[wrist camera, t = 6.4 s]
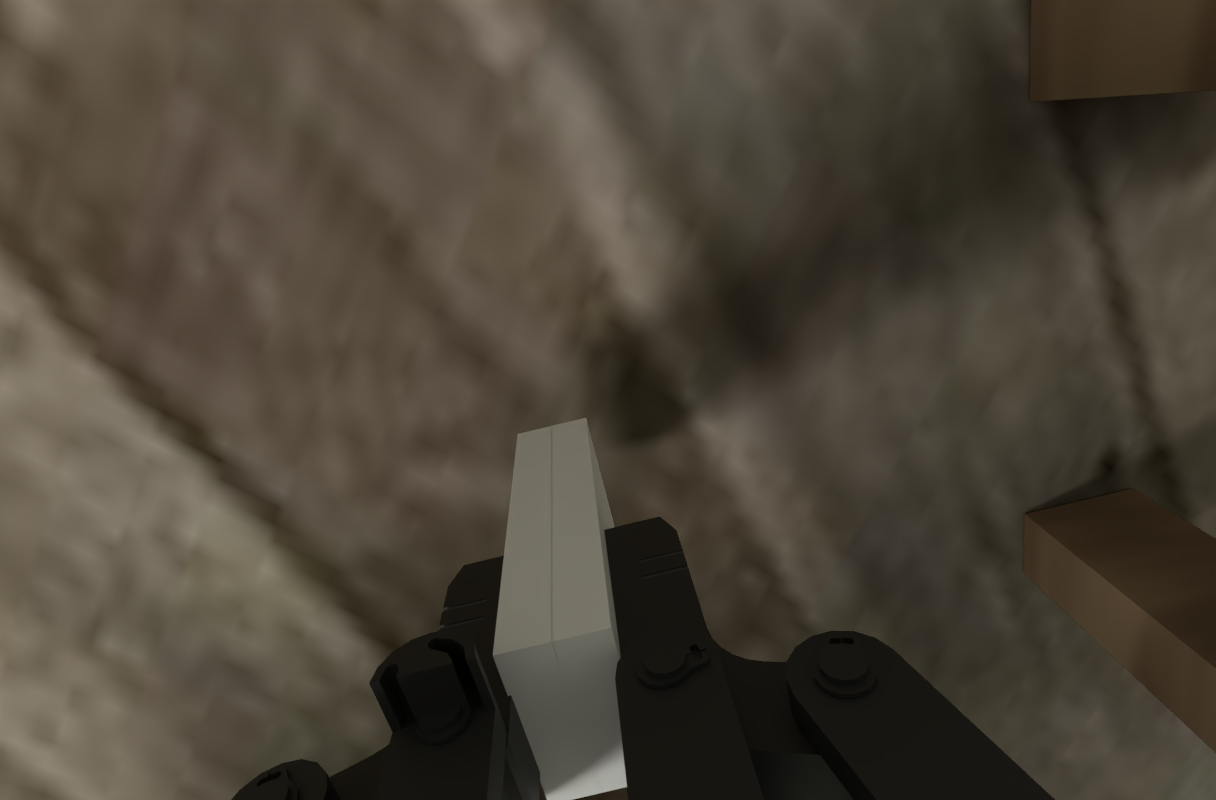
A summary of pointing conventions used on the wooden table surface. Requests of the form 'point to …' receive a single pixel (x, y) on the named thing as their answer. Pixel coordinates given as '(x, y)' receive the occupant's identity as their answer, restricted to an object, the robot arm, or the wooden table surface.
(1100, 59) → the bridge
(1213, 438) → the wooden table surface
